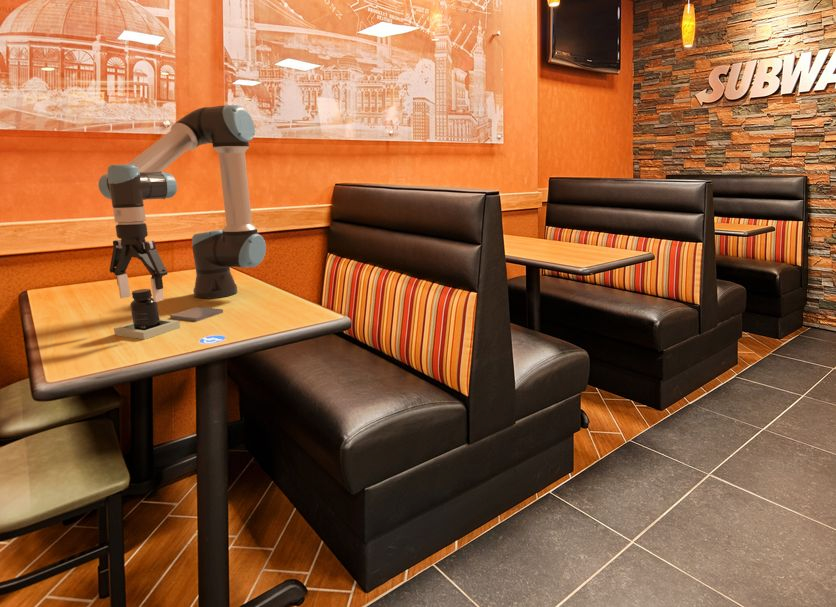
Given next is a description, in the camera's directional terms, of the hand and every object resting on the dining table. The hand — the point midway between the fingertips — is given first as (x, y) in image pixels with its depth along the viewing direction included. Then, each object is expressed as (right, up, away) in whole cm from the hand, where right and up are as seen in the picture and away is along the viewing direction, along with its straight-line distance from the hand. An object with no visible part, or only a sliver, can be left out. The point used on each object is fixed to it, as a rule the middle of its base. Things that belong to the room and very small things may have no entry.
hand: (141, 299), depth 153 cm
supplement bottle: (0, -9, +3) cm, 10 cm away
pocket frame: (0, -9, +3) cm, 10 cm away
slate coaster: (+8, -5, +18) cm, 21 cm away
